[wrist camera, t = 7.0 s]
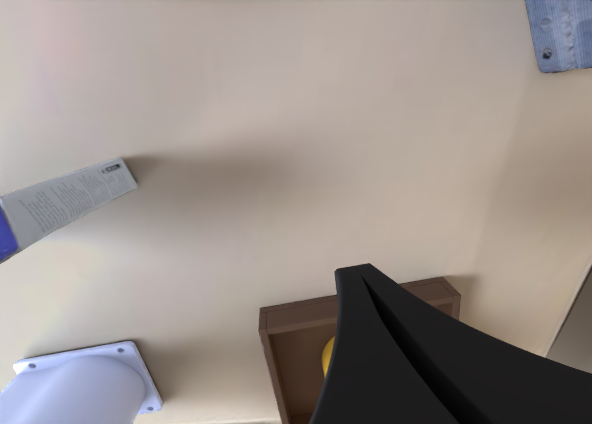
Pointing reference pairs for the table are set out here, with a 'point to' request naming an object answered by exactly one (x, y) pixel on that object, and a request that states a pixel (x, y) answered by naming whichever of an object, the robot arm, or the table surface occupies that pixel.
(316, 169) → the table surface
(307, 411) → the tray
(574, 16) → the vhs cassette tape
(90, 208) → the ink box
